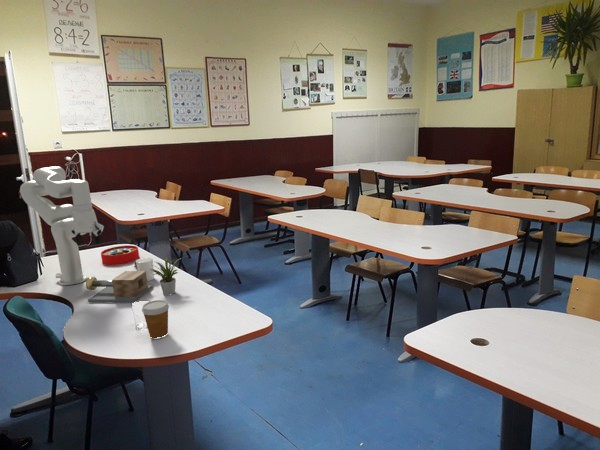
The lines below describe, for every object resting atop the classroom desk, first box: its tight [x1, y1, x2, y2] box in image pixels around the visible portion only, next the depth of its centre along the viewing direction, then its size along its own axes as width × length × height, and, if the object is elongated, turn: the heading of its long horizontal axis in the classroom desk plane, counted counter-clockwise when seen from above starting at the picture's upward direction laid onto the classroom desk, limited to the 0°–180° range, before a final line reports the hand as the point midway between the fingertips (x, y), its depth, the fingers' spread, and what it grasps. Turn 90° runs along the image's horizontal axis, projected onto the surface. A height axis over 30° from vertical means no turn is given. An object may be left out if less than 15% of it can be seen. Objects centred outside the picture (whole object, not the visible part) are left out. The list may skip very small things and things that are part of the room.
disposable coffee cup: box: [141, 299, 170, 339], centre depth 177 cm, size 10×10×12 cm
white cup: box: [136, 257, 155, 282], centre depth 241 cm, size 8×8×10 cm
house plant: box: [150, 257, 182, 296], centre depth 220 cm, size 14×14×16 cm
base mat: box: [87, 284, 154, 304], centre depth 222 cm, size 22×18×2 cm
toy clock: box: [100, 245, 140, 266], centre depth 277 cm, size 20×6×20 cm
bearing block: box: [111, 270, 149, 297], centre depth 220 cm, size 10×12×8 cm
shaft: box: [85, 276, 113, 291], centre depth 222 cm, size 18×6×6 cm, turn 81°
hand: (89, 243), depth 227 cm, fingers open, 9 cm apart
